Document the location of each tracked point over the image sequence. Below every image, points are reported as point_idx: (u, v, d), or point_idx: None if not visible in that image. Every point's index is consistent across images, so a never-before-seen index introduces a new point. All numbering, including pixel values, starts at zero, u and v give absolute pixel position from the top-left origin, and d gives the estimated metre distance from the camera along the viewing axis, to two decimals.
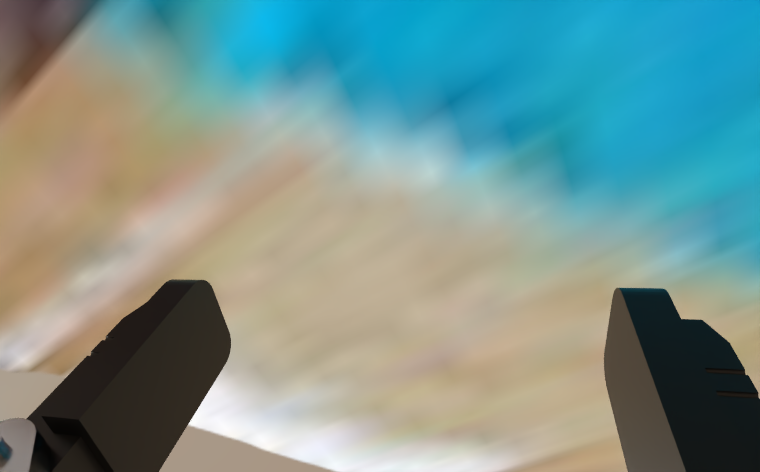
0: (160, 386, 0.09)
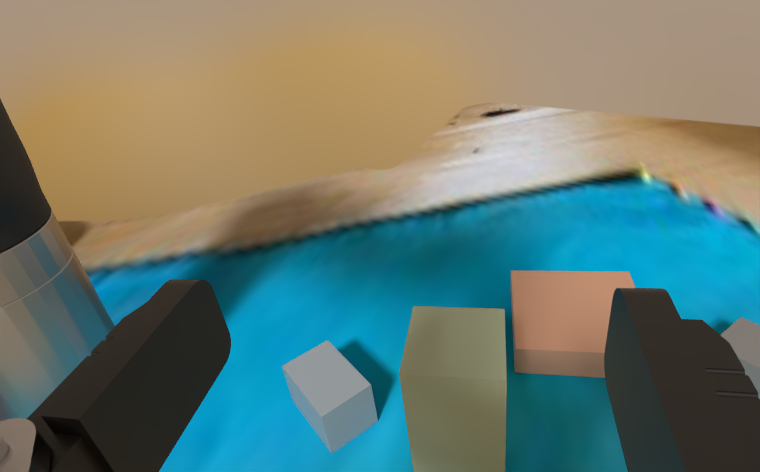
0: (160, 386, 0.09)
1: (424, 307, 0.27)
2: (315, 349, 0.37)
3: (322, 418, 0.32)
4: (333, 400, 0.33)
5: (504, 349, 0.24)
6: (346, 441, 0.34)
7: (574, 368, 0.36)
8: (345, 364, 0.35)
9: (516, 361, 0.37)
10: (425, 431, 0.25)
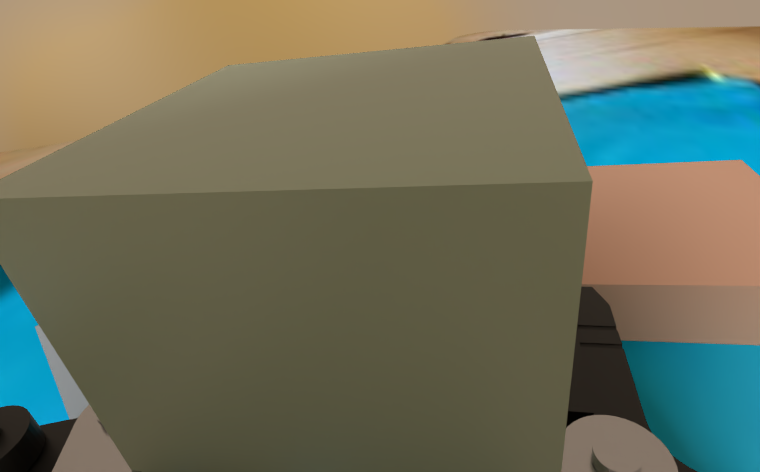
0: None
1: (259, 63, 0.08)
2: None
3: None
4: None
5: (549, 93, 0.05)
6: None
7: (668, 324, 0.17)
8: None
9: None
10: None
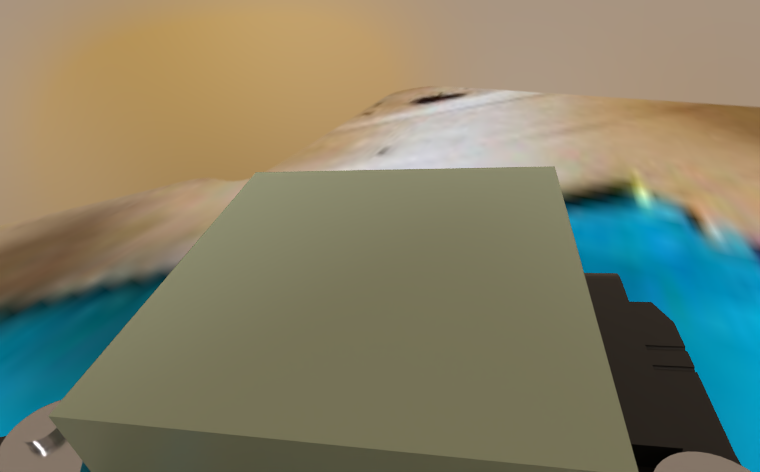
0: None
1: (287, 175, 0.08)
2: None
3: None
4: None
5: (582, 294, 0.05)
6: None
7: None
8: None
9: None
10: None
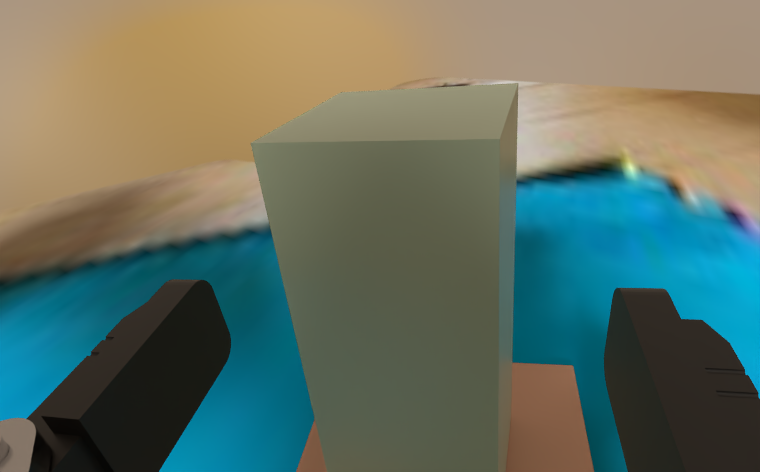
0: (160, 386, 0.09)
1: (360, 92, 0.14)
2: None
3: None
4: None
5: (504, 111, 0.10)
6: None
7: None
8: None
9: None
10: (325, 314, 0.12)
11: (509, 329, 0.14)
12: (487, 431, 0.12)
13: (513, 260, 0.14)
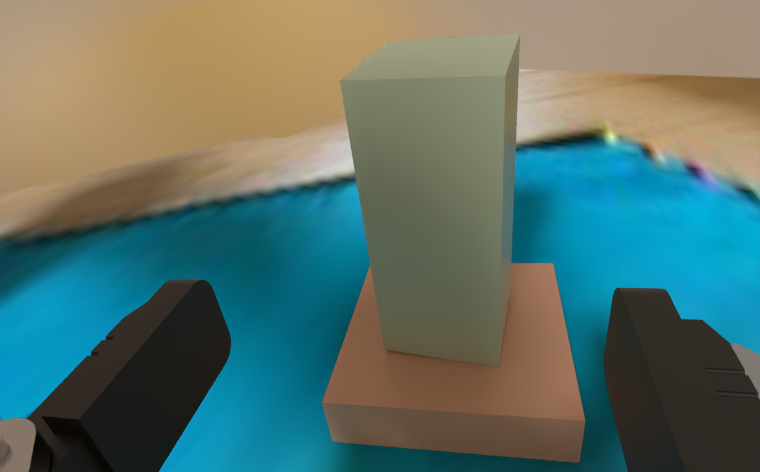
0: (160, 386, 0.09)
1: (402, 40, 0.19)
2: None
3: None
4: None
5: (509, 56, 0.15)
6: None
7: (431, 439, 0.20)
8: None
9: (330, 424, 0.20)
10: (385, 199, 0.17)
11: (510, 216, 0.20)
12: (493, 277, 0.17)
13: (514, 167, 0.20)
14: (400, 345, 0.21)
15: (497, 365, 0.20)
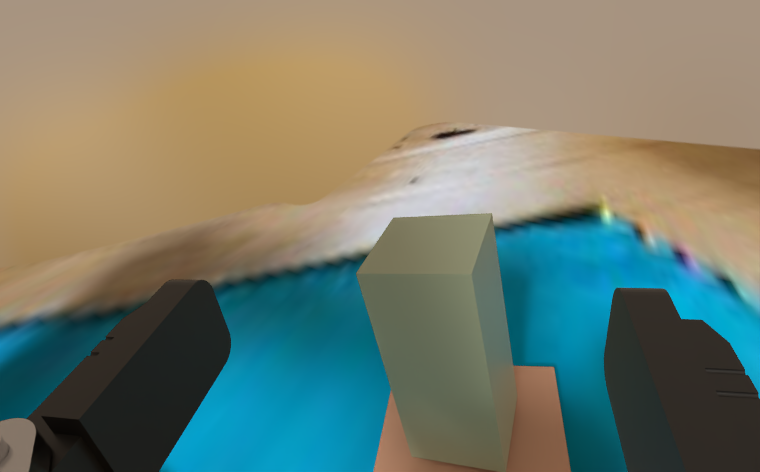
0: (160, 386, 0.09)
1: (404, 218, 0.24)
2: None
3: None
4: None
5: (478, 247, 0.20)
6: None
7: None
8: None
9: None
10: (397, 349, 0.22)
11: (503, 346, 0.24)
12: (488, 405, 0.22)
13: (502, 305, 0.24)
14: (424, 453, 0.26)
15: (504, 471, 0.24)
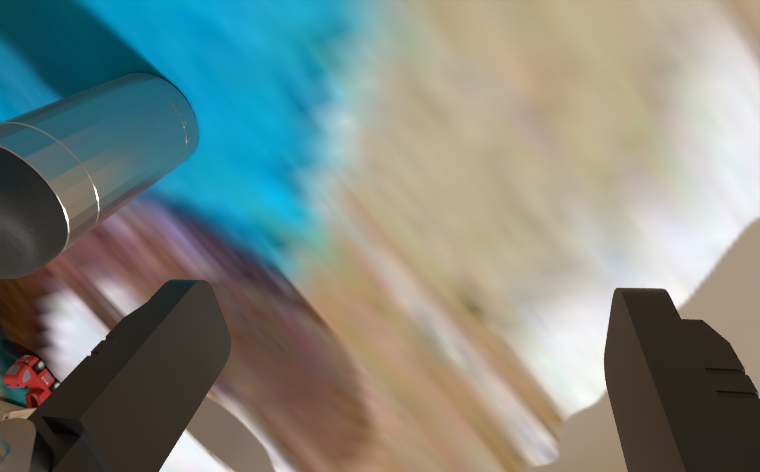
0: (160, 386, 0.09)
1: None
2: None
3: None
4: None
5: None
6: None
7: None
8: None
9: None
10: None
11: None
12: None
13: None
14: None
15: None
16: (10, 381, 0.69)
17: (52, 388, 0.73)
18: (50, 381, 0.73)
